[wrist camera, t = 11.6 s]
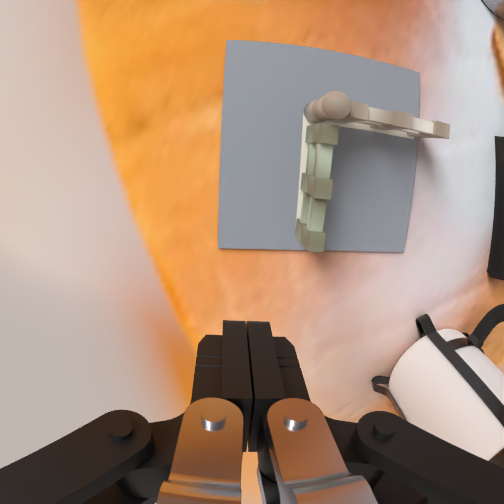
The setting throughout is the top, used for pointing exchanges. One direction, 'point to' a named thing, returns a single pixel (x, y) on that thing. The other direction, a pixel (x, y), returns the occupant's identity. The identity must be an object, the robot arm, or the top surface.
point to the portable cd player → (498, 216)
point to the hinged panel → (316, 185)
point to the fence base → (371, 116)
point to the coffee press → (452, 387)
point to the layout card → (295, 149)
